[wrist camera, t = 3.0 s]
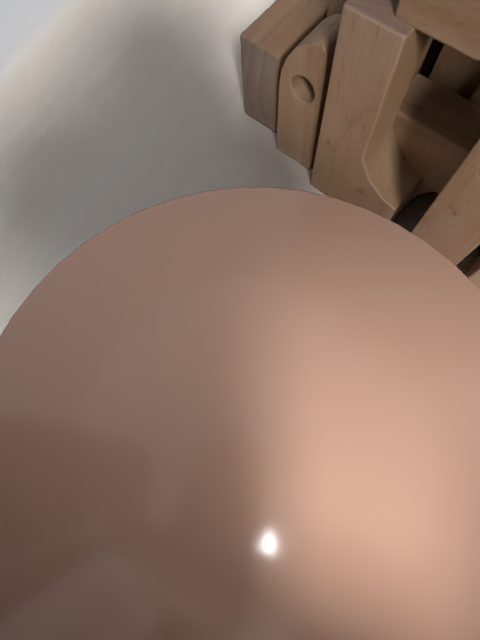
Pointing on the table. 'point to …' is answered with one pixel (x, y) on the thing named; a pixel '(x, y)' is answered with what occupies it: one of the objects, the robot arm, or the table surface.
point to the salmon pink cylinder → (243, 431)
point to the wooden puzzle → (377, 105)
